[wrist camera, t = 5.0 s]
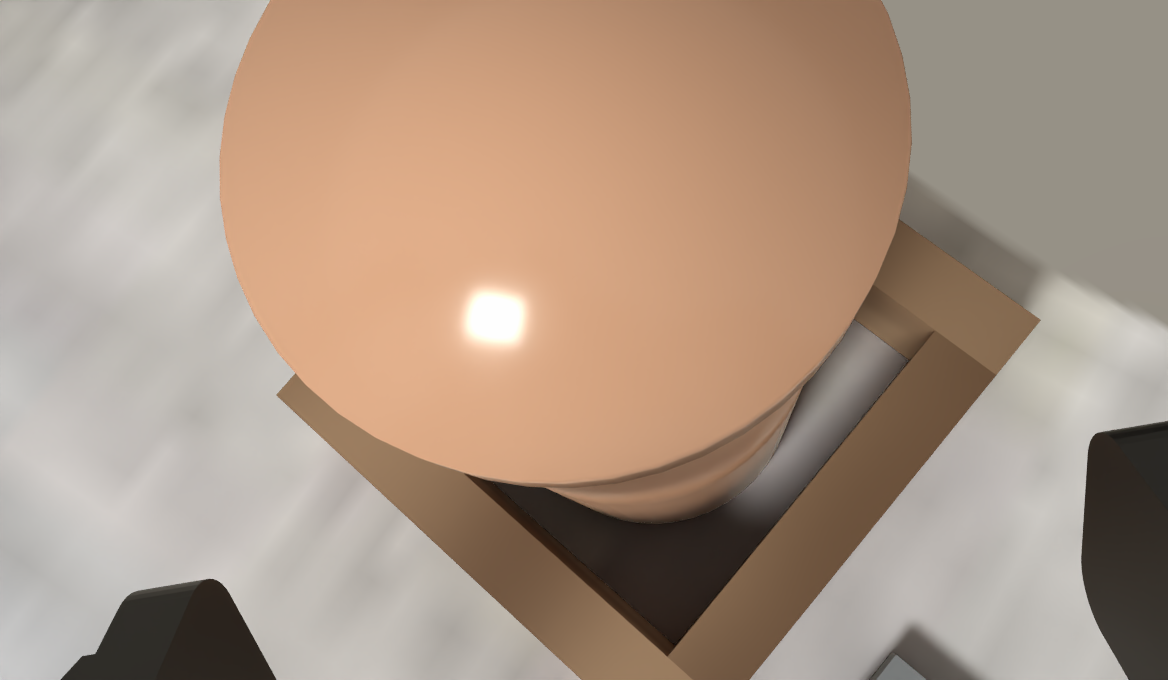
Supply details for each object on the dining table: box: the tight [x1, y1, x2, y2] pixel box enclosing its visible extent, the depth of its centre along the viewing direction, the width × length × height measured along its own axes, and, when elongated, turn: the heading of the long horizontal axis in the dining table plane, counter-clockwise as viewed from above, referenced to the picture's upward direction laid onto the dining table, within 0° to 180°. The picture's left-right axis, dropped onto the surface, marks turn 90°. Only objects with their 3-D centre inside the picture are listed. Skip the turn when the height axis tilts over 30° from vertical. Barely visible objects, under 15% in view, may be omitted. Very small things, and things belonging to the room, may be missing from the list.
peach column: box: [220, 0, 912, 524], centre depth 14 cm, size 8×6×12 cm
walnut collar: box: [277, 220, 1040, 680], centre depth 19 cm, size 9×9×2 cm
